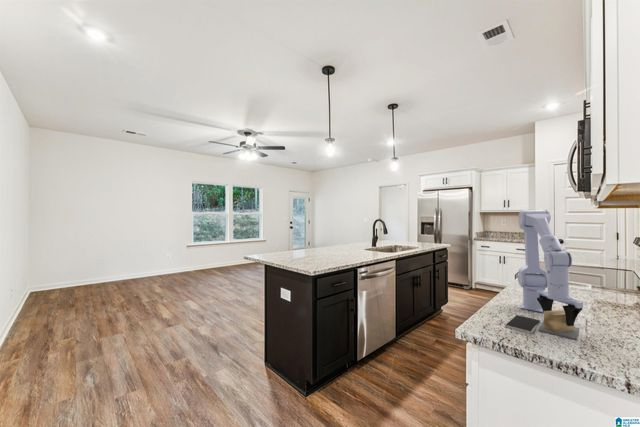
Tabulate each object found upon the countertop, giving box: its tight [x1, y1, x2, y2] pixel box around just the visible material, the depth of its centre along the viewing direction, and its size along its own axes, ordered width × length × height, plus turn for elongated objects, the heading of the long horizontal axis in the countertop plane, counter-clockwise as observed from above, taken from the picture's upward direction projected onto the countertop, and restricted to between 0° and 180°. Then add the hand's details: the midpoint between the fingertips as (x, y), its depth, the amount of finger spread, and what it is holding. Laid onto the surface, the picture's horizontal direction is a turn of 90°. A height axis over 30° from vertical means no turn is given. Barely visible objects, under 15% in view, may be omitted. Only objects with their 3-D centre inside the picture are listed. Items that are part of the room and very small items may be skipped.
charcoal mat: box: [538, 319, 580, 341], centre depth 96 cm, size 12×10×1 cm
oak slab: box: [543, 309, 575, 332], centre depth 96 cm, size 4×8×6 cm, turn 99°
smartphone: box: [505, 314, 542, 334], centre depth 102 cm, size 8×1×15 cm
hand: (558, 321), depth 96 cm, fingers open, 7 cm apart
